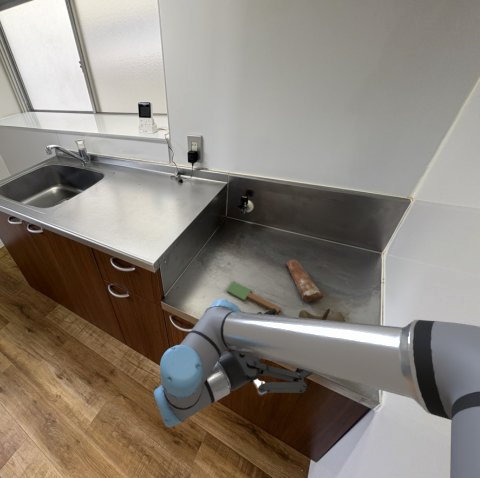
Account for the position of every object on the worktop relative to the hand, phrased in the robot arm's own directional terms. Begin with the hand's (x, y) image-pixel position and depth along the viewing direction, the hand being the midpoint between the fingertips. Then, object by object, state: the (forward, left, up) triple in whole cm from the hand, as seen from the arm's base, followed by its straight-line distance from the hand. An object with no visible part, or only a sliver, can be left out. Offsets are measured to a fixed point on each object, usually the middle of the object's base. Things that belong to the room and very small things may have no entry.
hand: (295, 333), depth 61 cm
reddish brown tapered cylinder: (+6, -32, -16) cm, 36 cm away
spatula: (+16, -16, -16) cm, 28 cm away
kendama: (-4, -9, -16) cm, 19 cm away
